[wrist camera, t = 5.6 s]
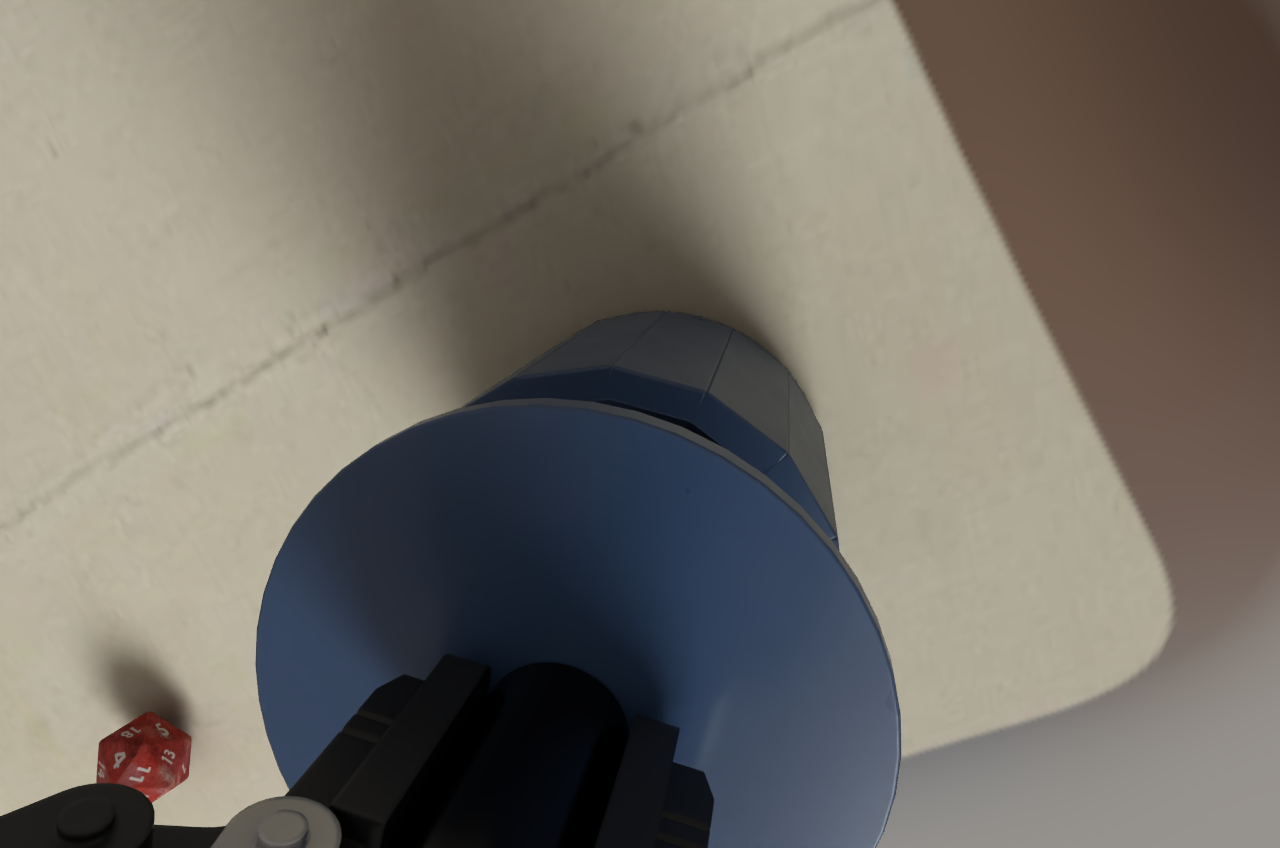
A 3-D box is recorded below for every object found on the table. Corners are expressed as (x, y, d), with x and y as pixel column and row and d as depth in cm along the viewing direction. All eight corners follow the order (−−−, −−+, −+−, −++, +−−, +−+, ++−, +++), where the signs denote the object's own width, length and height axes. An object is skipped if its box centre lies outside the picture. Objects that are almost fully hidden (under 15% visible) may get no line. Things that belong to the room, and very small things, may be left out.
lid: (991, 497, 12) (1135, 724, 7) (787, 1016, 16) (782, 1444, 10) (328, 312, 14) (23, 388, 8) (264, 831, 17) (13, 1130, 11)
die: (140, 689, 31) (75, 739, 28) (214, 715, 31) (156, 768, 28) (134, 753, 32) (70, 807, 29) (206, 779, 32) (149, 836, 29)
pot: (869, 361, 24) (911, 447, 16) (773, 656, 27) (766, 857, 19) (540, 273, 25) (419, 312, 17) (481, 567, 28) (353, 722, 19)
